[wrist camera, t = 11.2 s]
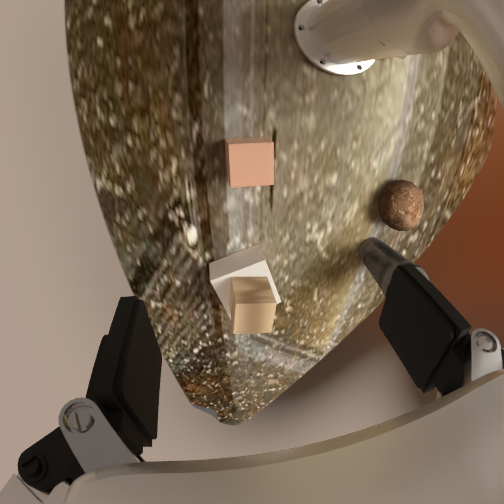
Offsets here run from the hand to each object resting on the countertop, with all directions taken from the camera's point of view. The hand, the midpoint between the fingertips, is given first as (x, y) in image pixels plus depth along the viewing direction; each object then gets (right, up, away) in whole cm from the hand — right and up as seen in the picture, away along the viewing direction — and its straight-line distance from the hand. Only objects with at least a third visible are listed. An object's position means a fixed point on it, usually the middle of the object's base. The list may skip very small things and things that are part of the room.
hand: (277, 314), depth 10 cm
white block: (-2, -1, +35) cm, 35 cm away
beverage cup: (+19, +3, +37) cm, 42 cm away
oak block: (-1, -3, +31) cm, 31 cm away
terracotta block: (-2, +15, +26) cm, 30 cm away
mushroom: (+22, +11, +33) cm, 41 cm away
